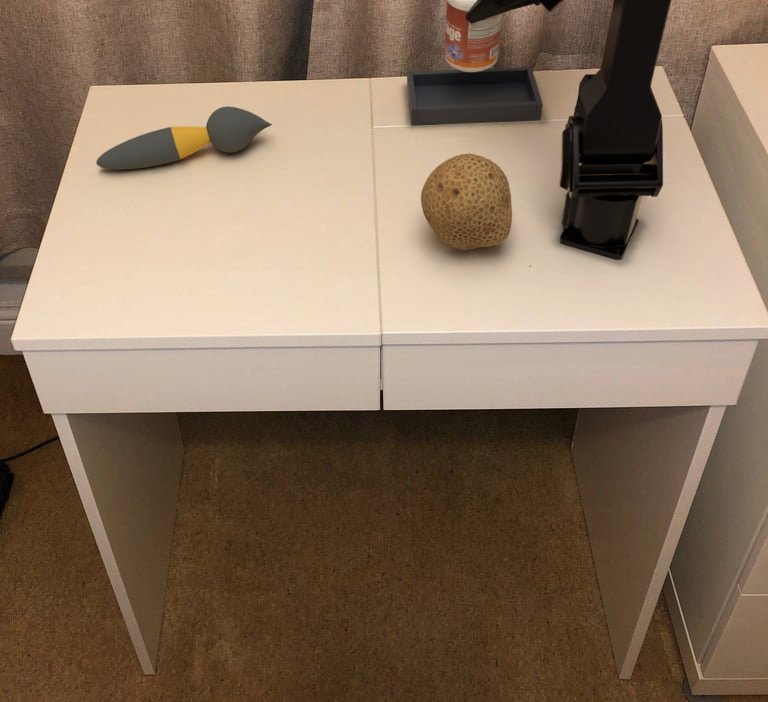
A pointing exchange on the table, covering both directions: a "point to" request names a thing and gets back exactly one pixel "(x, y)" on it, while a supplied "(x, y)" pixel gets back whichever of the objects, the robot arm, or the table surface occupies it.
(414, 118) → the tray
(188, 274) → the table surface
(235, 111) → the paintbrush
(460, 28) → the pill bottle
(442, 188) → the natural sponge
